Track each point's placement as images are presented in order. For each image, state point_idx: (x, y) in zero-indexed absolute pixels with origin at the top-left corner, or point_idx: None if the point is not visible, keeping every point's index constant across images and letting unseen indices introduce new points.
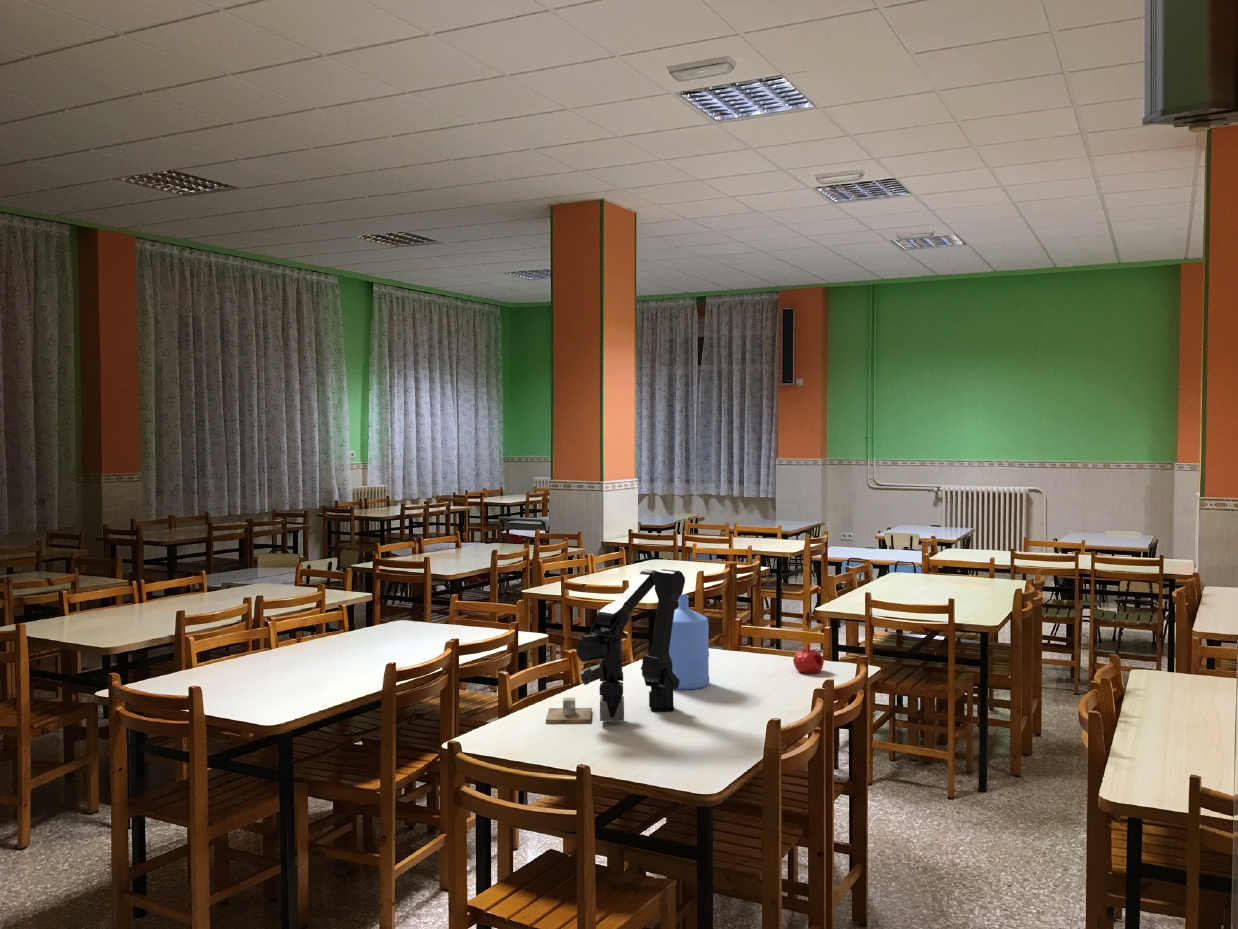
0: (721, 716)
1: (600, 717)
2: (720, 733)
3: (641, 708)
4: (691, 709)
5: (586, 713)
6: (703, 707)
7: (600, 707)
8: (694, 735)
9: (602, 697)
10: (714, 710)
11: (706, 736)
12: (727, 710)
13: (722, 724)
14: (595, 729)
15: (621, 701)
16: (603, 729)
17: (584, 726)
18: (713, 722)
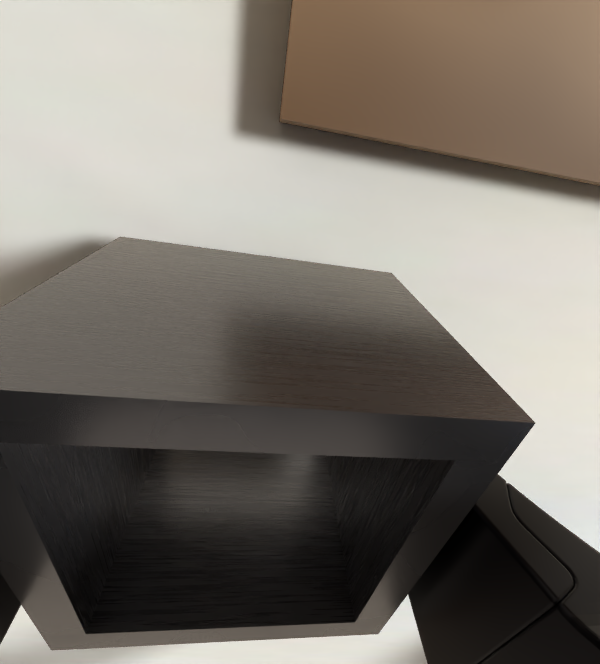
0: (290, 650)
1: (100, 255)
2: (71, 654)
3: (523, 494)
4: (406, 608)
5: (564, 104)
6: (416, 625)
7: (2, 321)
8: (20, 616)
9: (417, 454)
10: (367, 640)
11: (16, 636)
12: (355, 655)
13: (191, 654)
14: (11, 153)
15: (84, 637)
16: (32, 244)
17: (133, 5)
18: (218, 642)
